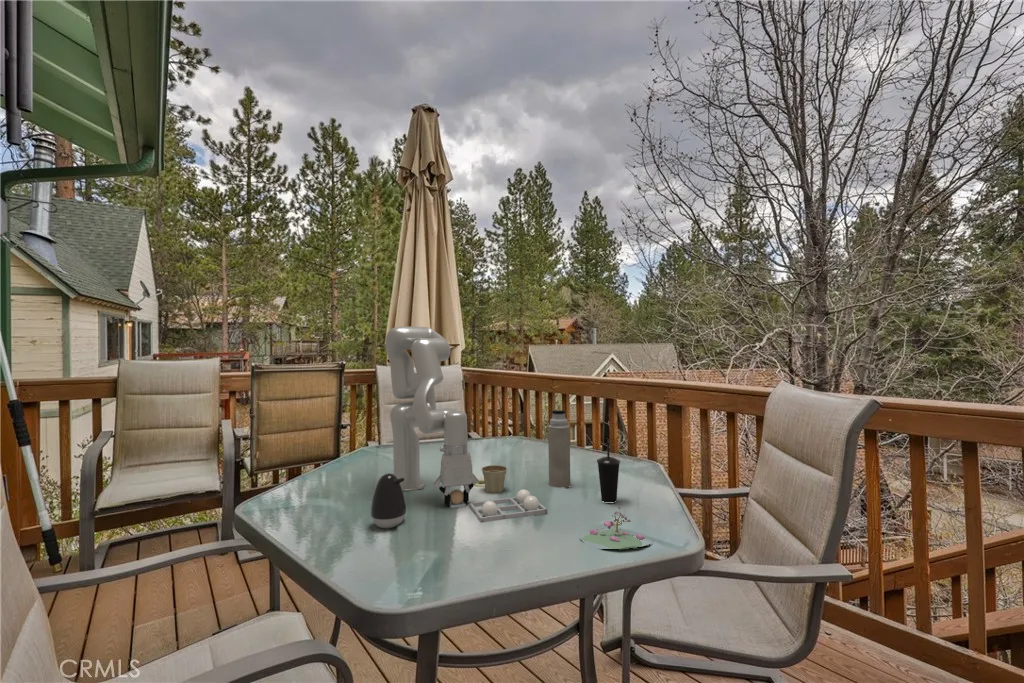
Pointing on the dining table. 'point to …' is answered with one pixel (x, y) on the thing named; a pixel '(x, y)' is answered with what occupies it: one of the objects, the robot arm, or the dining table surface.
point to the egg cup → (457, 505)
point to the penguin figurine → (388, 502)
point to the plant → (614, 536)
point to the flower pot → (494, 478)
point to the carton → (540, 510)
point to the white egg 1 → (489, 508)
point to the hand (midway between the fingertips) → (456, 504)
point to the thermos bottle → (559, 450)
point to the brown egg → (456, 497)
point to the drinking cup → (608, 477)
